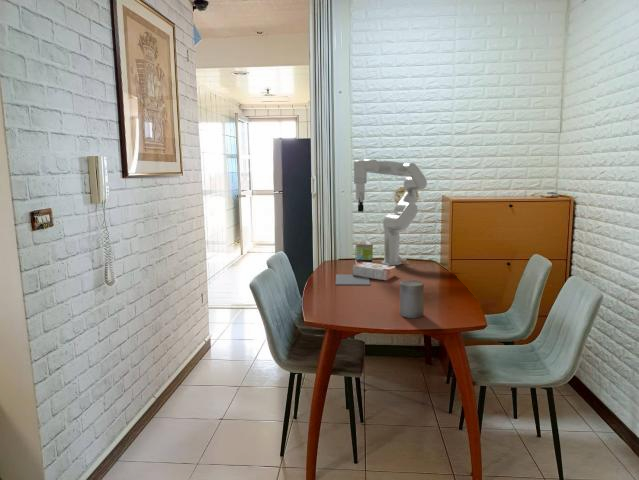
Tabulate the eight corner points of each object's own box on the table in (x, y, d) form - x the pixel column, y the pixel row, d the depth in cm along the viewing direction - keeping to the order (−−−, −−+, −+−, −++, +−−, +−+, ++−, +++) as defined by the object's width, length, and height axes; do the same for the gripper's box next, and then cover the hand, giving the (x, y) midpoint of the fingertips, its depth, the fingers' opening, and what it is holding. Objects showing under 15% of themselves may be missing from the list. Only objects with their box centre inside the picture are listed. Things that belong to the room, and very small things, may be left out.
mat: (367, 275, 266) (367, 274, 266) (370, 285, 244) (370, 284, 244) (336, 275, 267) (336, 274, 267) (335, 285, 245) (335, 284, 245)
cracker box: (362, 260, 274) (396, 266, 264) (361, 270, 275) (395, 276, 265) (352, 264, 262) (387, 270, 252) (351, 275, 263) (386, 281, 253)
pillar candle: (420, 311, 199) (420, 276, 196) (426, 318, 189) (426, 281, 187) (397, 311, 198) (397, 277, 196) (402, 318, 189) (402, 282, 187)
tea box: (372, 267, 288) (373, 244, 285) (356, 268, 288) (356, 244, 286) (370, 263, 303) (370, 240, 300) (355, 263, 303) (355, 240, 301)
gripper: (353, 180, 288) (353, 210, 290) (354, 181, 273) (355, 213, 276) (365, 180, 287) (366, 210, 290) (367, 181, 273) (367, 212, 275)
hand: (360, 211), depth 283 cm, fingers closed
